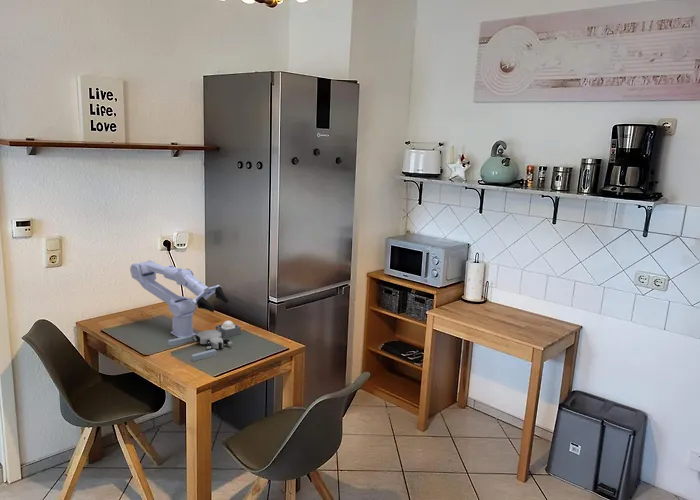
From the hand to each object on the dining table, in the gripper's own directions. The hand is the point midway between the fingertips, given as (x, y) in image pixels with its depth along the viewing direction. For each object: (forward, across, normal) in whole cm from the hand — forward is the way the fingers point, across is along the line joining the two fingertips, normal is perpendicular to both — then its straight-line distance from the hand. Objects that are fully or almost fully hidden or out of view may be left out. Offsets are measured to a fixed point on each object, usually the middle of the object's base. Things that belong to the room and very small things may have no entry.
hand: (220, 305), depth 224 cm
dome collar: (+1, +6, +21) cm, 22 cm away
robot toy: (+5, -7, +16) cm, 18 cm away
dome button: (+1, +6, +20) cm, 21 cm away
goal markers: (+2, -16, +13) cm, 21 cm away
